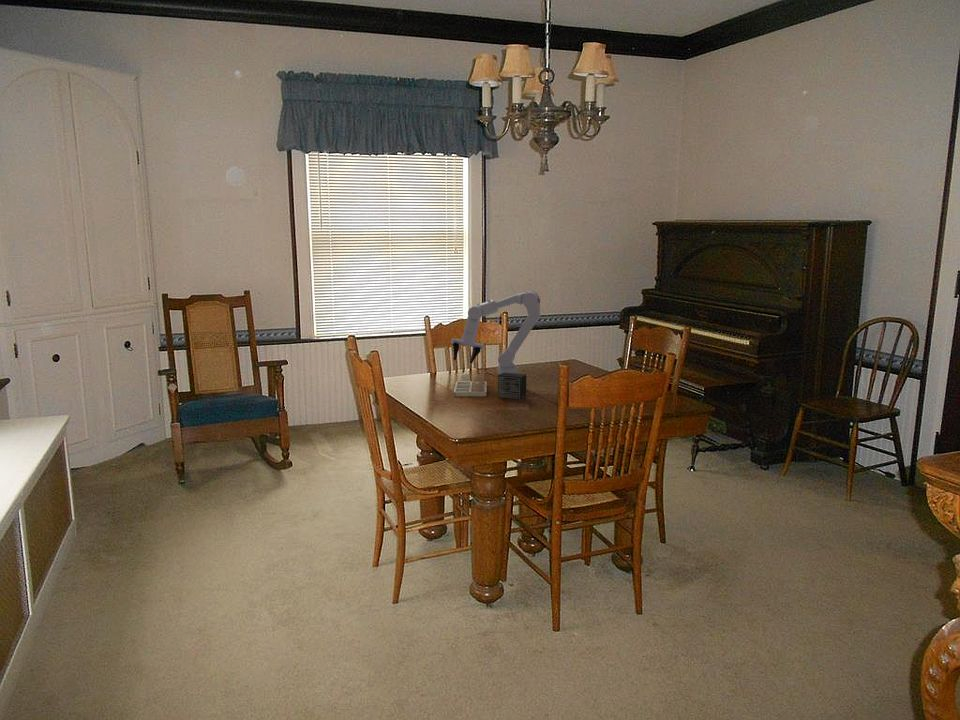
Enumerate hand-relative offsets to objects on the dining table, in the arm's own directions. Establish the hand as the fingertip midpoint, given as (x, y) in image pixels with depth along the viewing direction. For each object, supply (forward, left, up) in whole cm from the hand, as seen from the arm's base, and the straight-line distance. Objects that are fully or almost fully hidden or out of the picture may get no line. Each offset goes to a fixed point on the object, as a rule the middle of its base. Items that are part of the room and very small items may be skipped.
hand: (462, 361), depth 320 cm
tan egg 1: (-7, +9, -10) cm, 15 cm away
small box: (-21, +26, -11) cm, 35 cm away
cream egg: (-1, 0, -11) cm, 11 cm away
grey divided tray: (-4, +16, -11) cm, 19 cm away
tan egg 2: (-7, +22, -10) cm, 25 cm away
